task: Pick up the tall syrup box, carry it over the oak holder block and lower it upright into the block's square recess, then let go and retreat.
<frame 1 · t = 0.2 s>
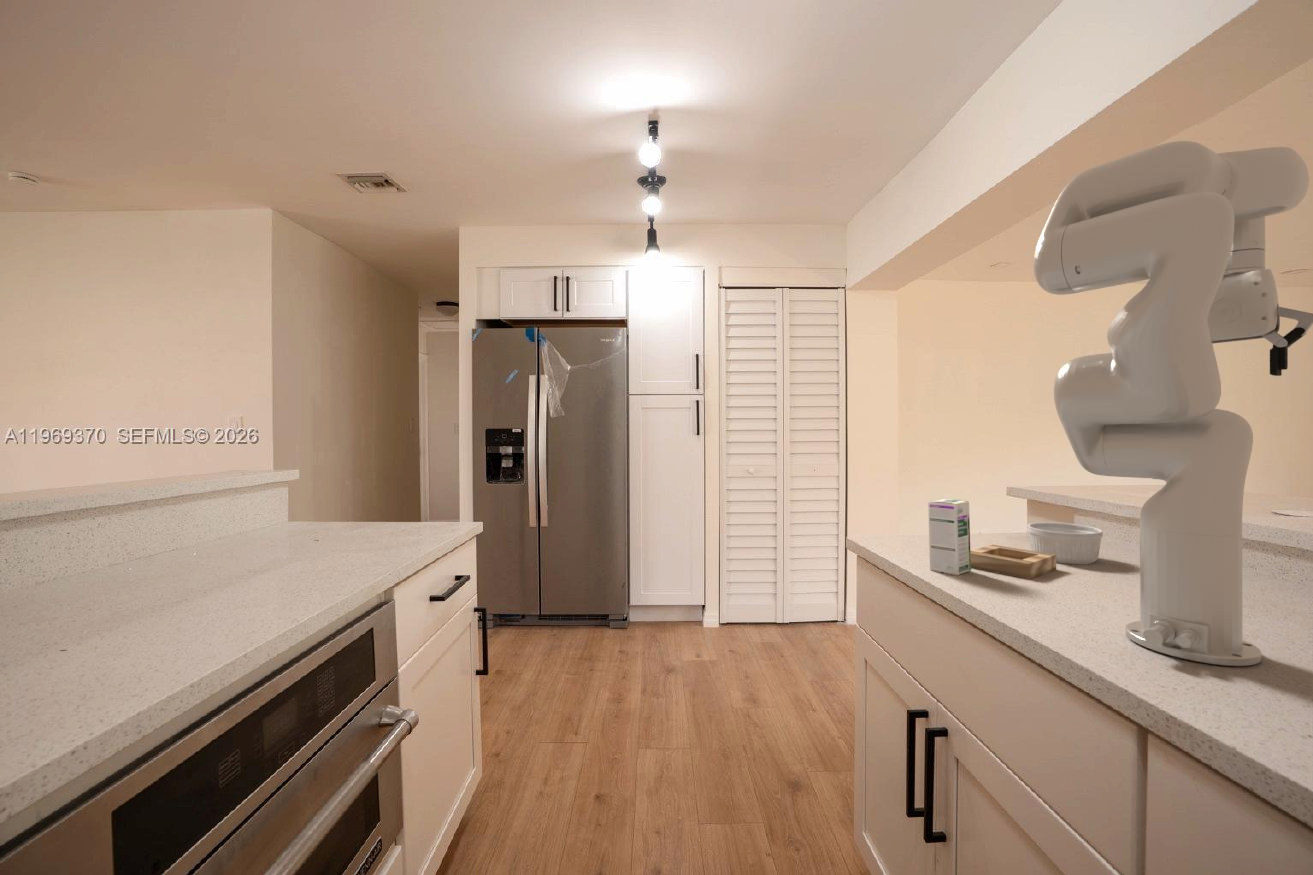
hand: (1228, 378, 82), 37 cm above the worktop, tool pointing down, fingers open, 9 cm apart
syrup box: (949, 571, 108), on the worktop
ramekin: (1063, 559, 117), on the worktop
holder block: (1010, 567, 110), on the worktop
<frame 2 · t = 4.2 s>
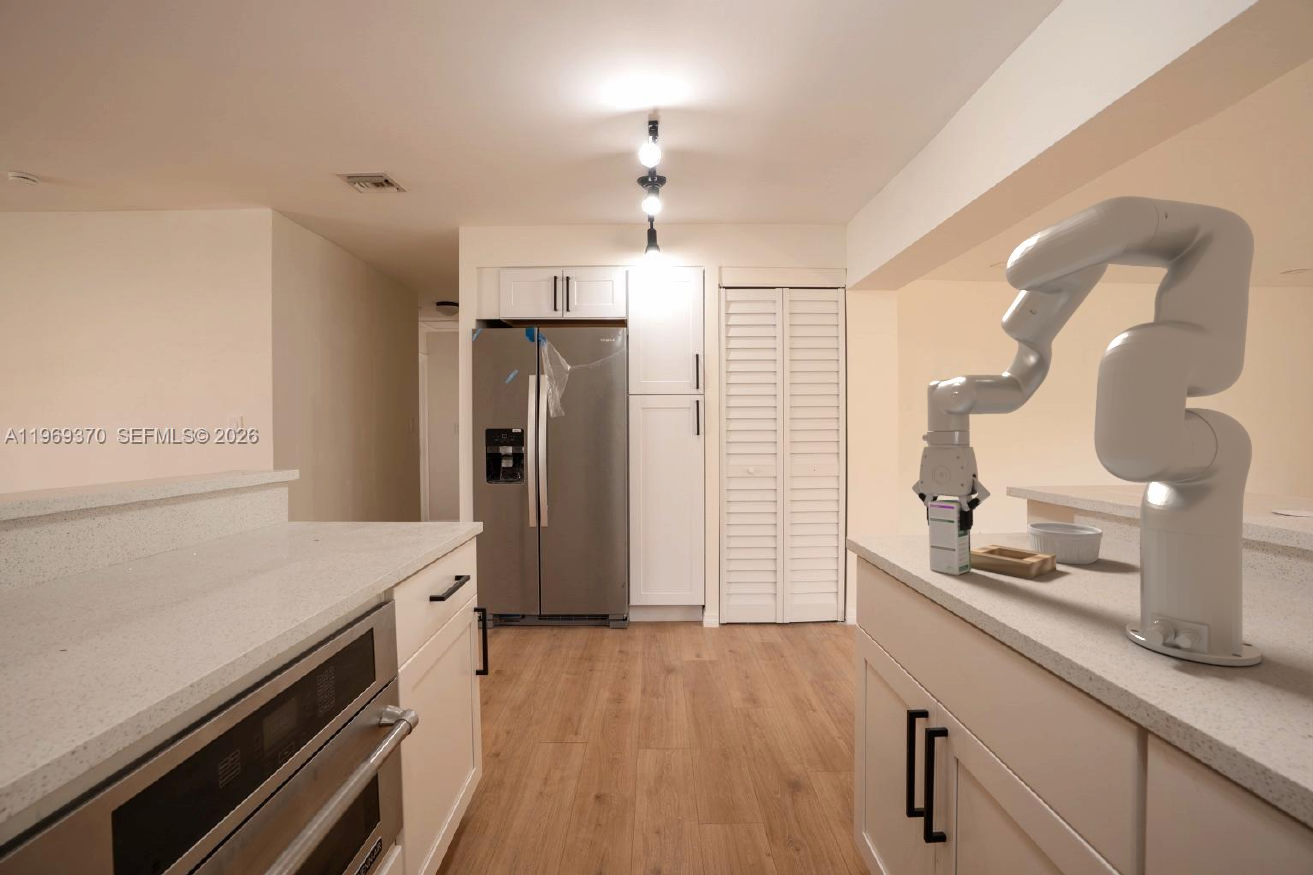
hand: (949, 526, 108), 9 cm above the worktop, tool pointing down, fingers closed on syrup box, 5 cm apart
syrup box: (949, 571, 108), on the worktop, touching gripper
everything else where it was.
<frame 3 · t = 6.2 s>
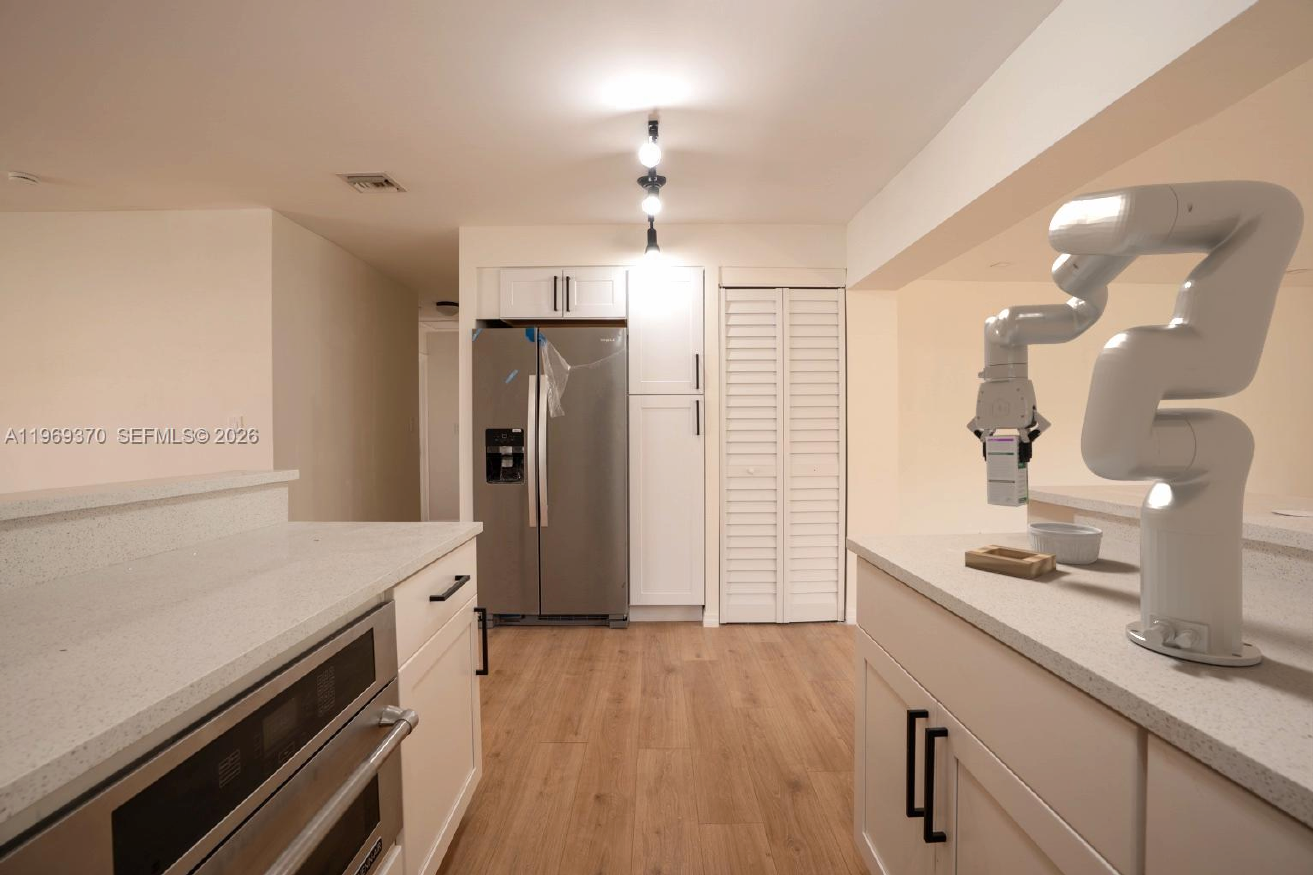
hand: (1006, 460, 109), 22 cm above the worktop, tool pointing down, fingers closed on syrup box, 5 cm apart
syrup box: (1007, 505, 109), point 13 cm above the worktop, touching gripper
everything else where it was.
when the fingers open (10 cm above the worktop, at t = 8.3 s): syrup box stays where it is, resting on holder block.
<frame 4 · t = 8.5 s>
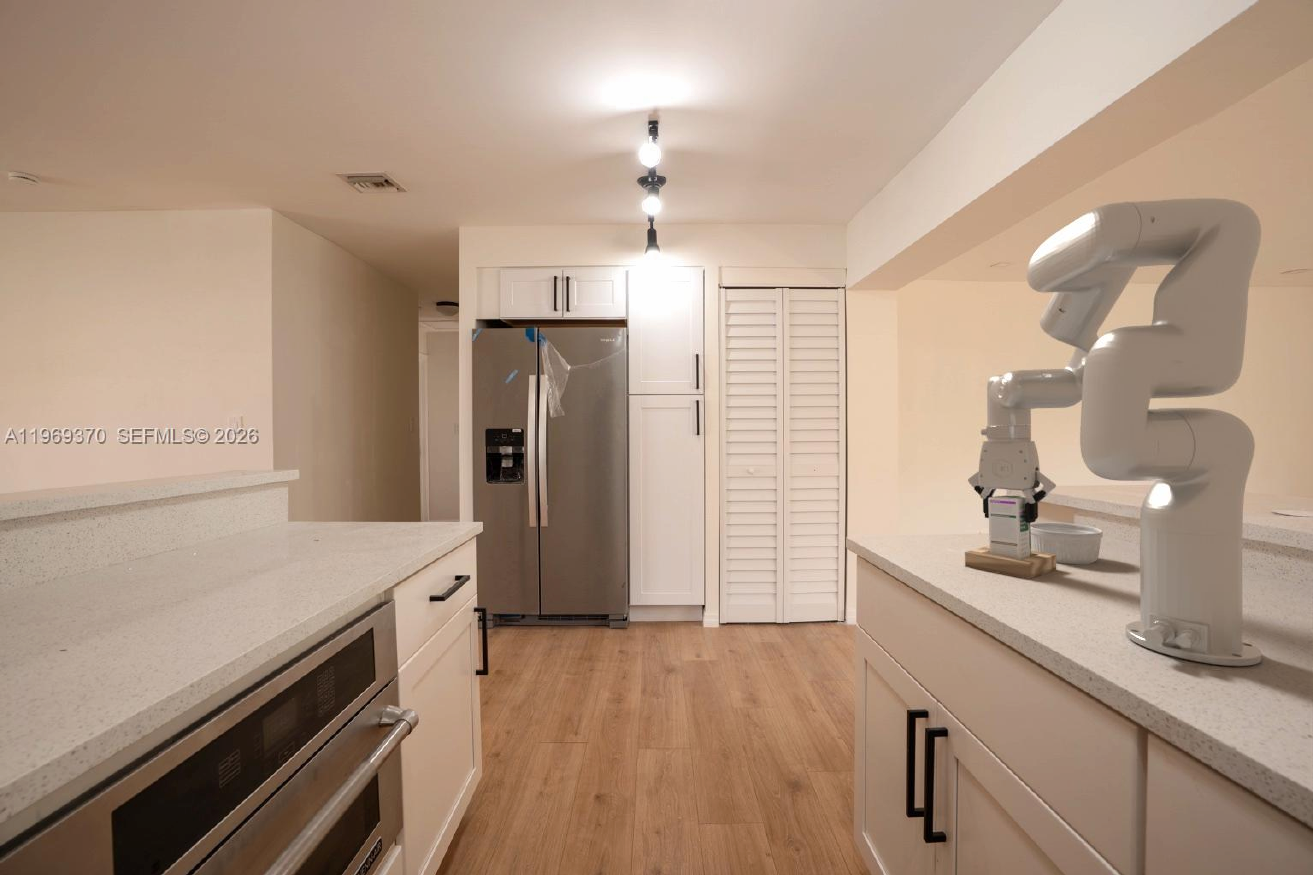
hand: (1009, 519, 109), 10 cm above the worktop, tool pointing down, fingers open, 7 cm apart
syrup box: (1010, 566, 109), resting on holder block
everything else where it was.
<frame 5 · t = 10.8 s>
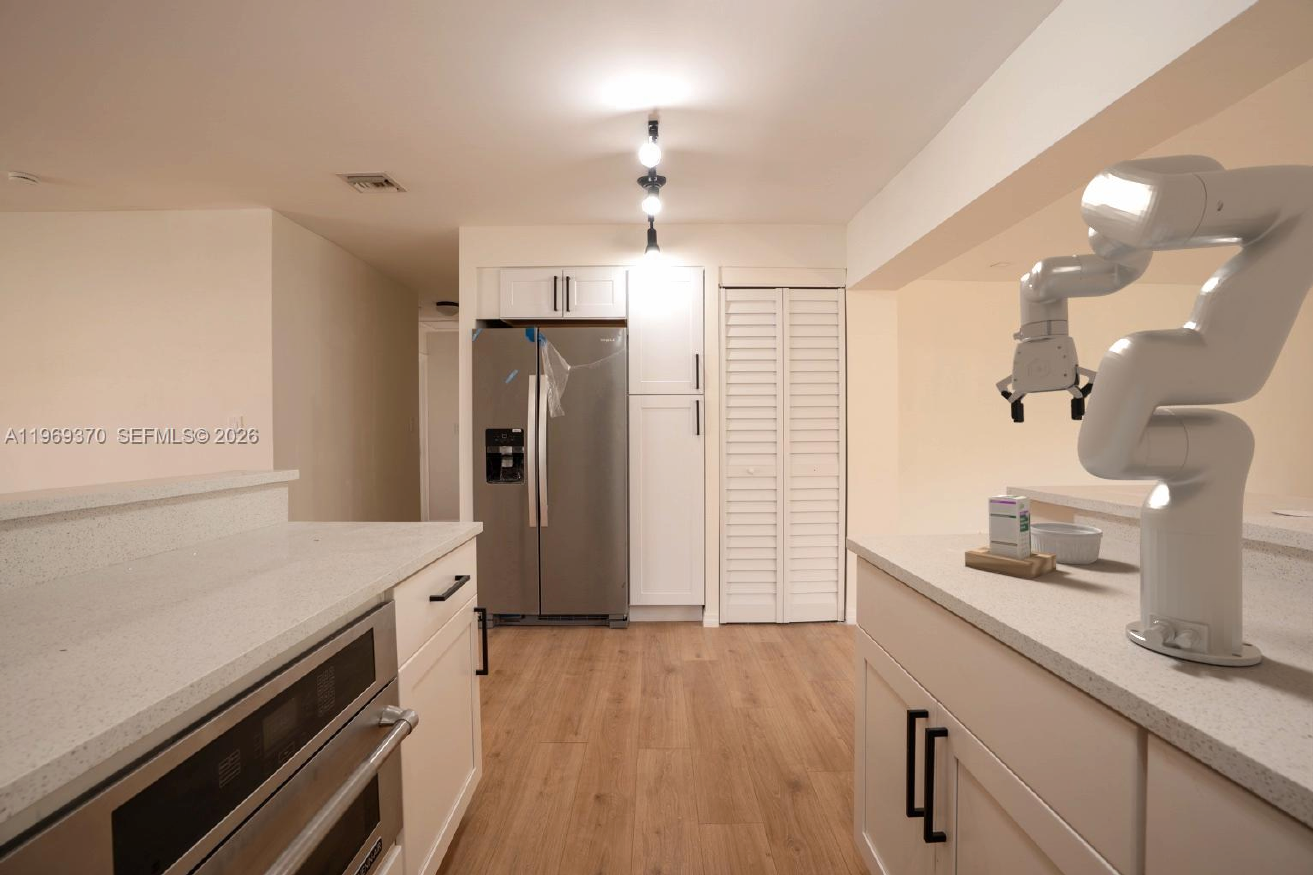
hand: (1046, 421, 103), 30 cm above the worktop, tool pointing down, fingers open, 9 cm apart
nothing on the worktop moved.
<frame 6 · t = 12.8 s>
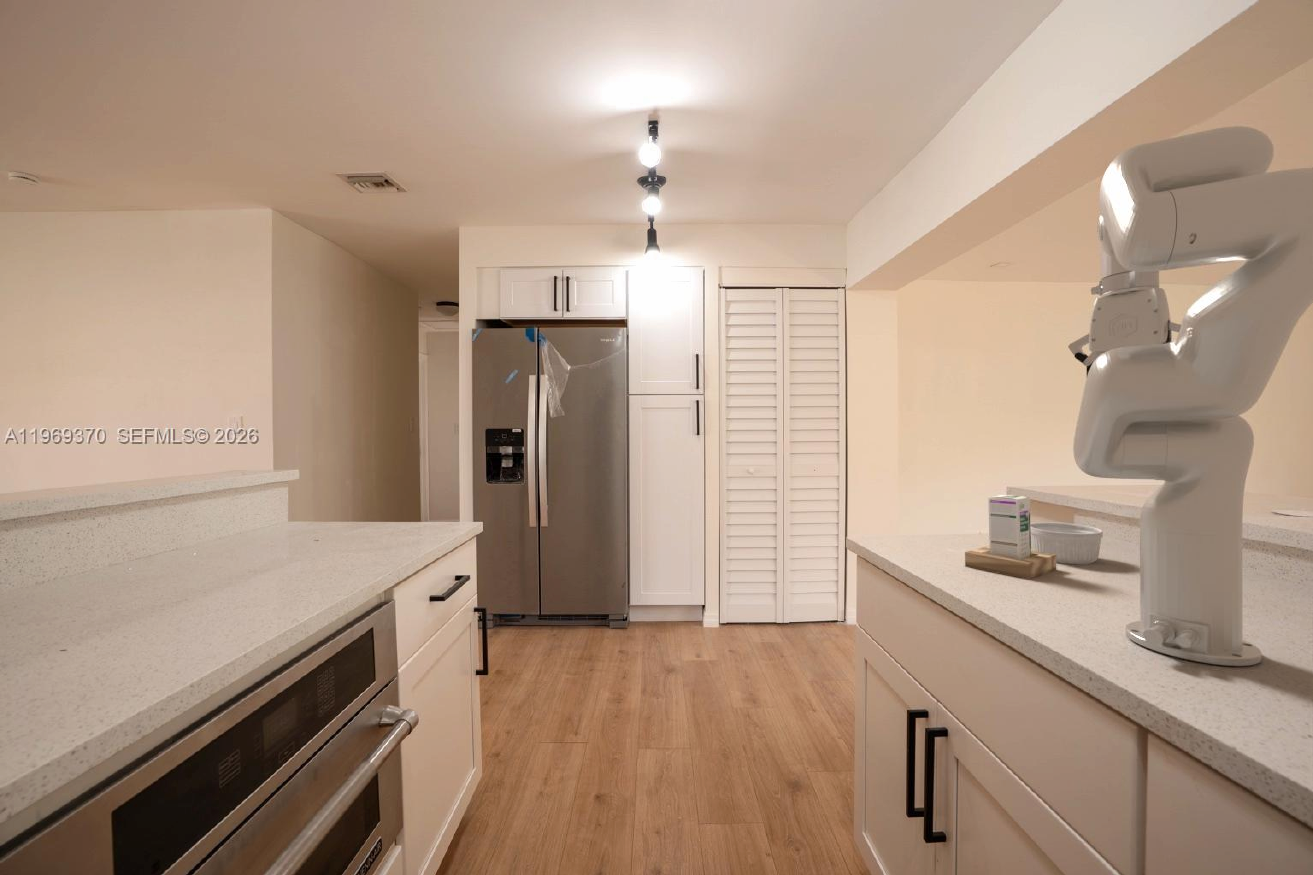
hand: (1129, 385, 91), 36 cm above the worktop, tool pointing down, fingers open, 9 cm apart
nothing on the worktop moved.
at the end: syrup box 0.1 cm off-centre on the holder block, point 0.3 cm above the holder block's base; syrup box tilted 0°; the gripper is holding nothing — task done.
